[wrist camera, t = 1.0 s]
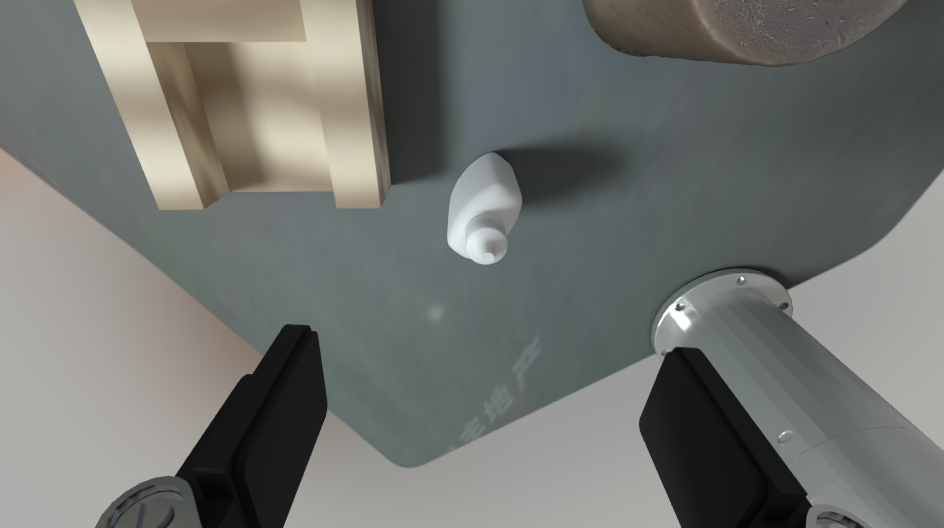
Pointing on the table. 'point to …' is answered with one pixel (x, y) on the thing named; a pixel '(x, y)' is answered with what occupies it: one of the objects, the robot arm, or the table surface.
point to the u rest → (246, 96)
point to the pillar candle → (737, 28)
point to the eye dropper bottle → (484, 209)
